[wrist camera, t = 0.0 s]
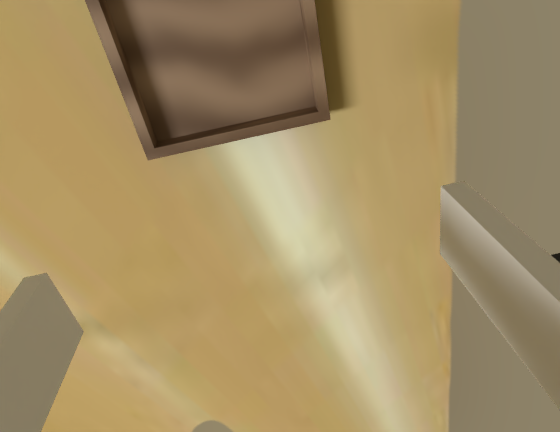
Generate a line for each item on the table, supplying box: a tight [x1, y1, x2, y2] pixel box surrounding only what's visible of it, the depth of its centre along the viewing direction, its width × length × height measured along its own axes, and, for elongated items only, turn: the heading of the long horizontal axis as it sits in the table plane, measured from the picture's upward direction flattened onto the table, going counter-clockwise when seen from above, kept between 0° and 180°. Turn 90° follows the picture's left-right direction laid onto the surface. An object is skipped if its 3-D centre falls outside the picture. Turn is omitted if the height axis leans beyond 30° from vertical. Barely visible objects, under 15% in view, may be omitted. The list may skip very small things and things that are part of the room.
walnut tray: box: [85, 0, 330, 160], centre depth 36 cm, size 16×18×2 cm
